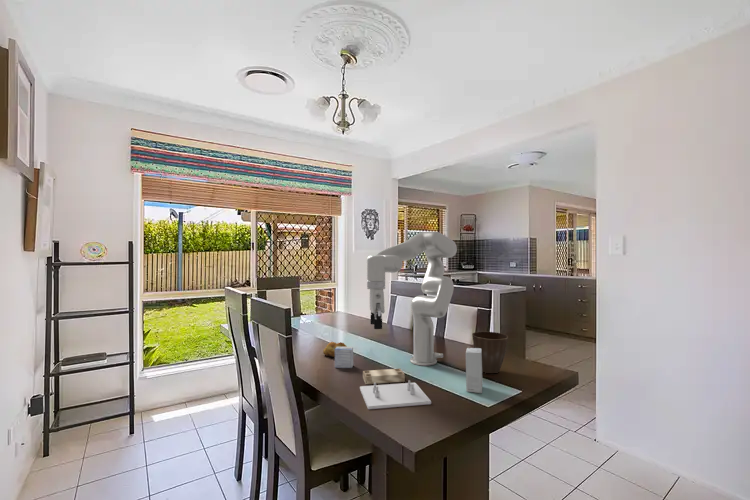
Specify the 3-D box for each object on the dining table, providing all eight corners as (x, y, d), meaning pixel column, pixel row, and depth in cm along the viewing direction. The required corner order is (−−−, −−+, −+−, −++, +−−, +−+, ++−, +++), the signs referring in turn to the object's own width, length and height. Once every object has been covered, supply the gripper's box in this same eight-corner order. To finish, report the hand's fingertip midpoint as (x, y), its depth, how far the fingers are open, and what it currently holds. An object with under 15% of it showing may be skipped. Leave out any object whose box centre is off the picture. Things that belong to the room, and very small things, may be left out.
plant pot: (490, 364, 166) (490, 330, 166) (515, 374, 153) (515, 336, 153) (465, 369, 160) (465, 333, 160) (489, 379, 146) (489, 340, 146)
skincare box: (482, 393, 132) (482, 353, 132) (465, 391, 133) (465, 352, 133) (482, 385, 140) (482, 347, 140) (466, 384, 141) (466, 346, 141)
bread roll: (319, 357, 178) (319, 341, 178) (329, 352, 187) (329, 336, 187) (342, 360, 173) (342, 343, 173) (351, 355, 182) (351, 339, 182)
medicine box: (353, 365, 165) (353, 346, 165) (351, 368, 160) (351, 349, 160) (336, 364, 165) (336, 346, 166) (334, 368, 161) (334, 348, 161)
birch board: (400, 375, 151) (400, 368, 151) (404, 381, 144) (404, 374, 144) (362, 378, 148) (362, 370, 148) (365, 384, 141) (365, 376, 141)
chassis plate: (415, 385, 140) (415, 373, 140) (431, 404, 123) (431, 390, 123) (359, 389, 136) (359, 377, 136) (368, 409, 118) (368, 395, 118)
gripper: (389, 287, 140) (389, 330, 140) (381, 283, 157) (381, 322, 157) (370, 287, 139) (370, 331, 139) (364, 283, 156) (364, 322, 156)
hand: (376, 326), depth 148 cm, fingers open, 9 cm apart
